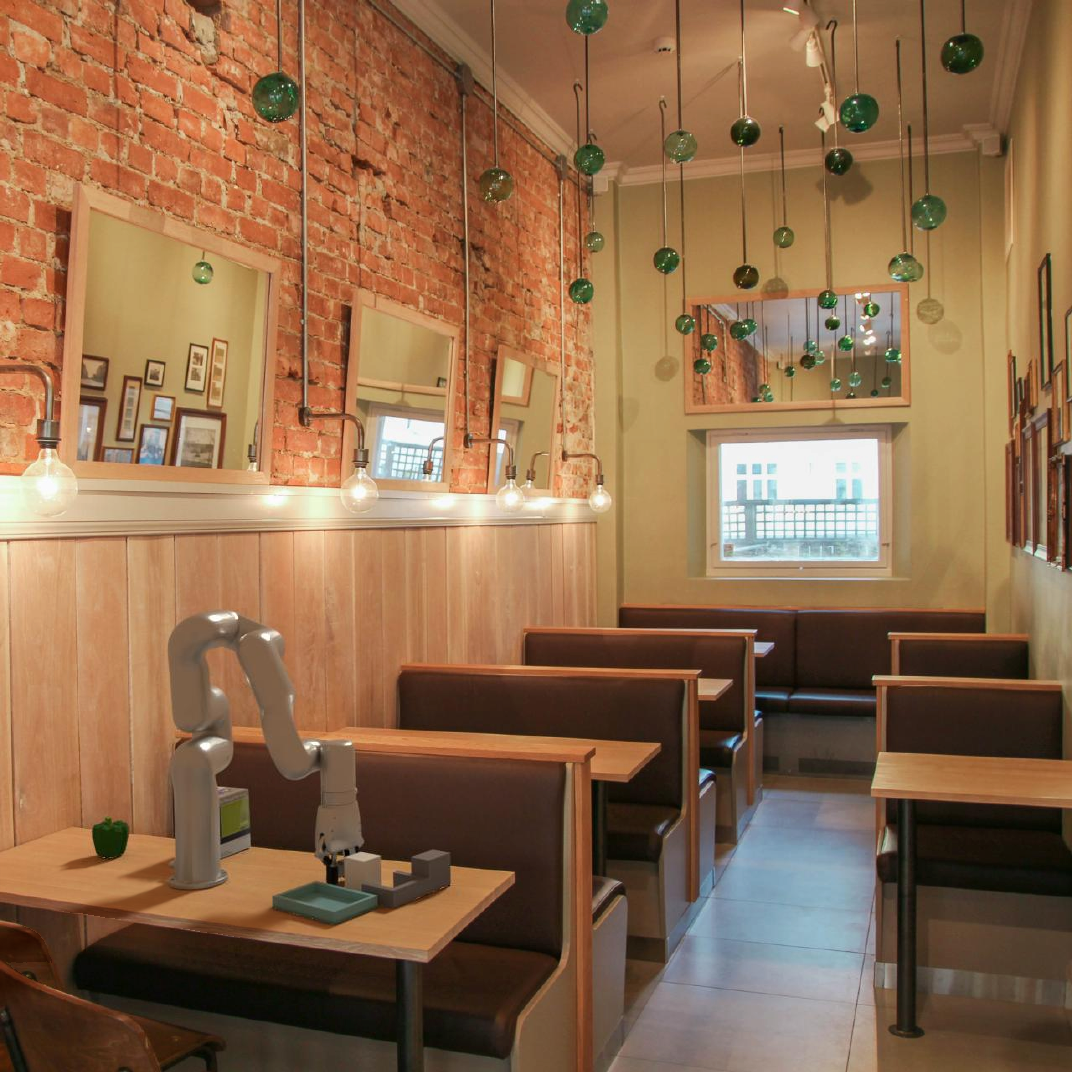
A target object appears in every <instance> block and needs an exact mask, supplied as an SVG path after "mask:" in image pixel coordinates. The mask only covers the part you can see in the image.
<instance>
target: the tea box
mask: <svg viewBox="0 0 1072 1072" xmlns="http://www.w3.org/2000/svg"><path fill="white" fill-rule="evenodd" d="M217 787H218V792H219V809H220V860H221V859H223V858H226V857H229V856H232V855H234V854H236V853H240V852H241V851H244V850H246V849H249V848H251V846H252V844H251V843H252V842H251V823H250V822H251V819H250V818H251V817H250V798H249V797H250V796H249V789H248V788H238V787H227V786H218V785H217Z"/></svg>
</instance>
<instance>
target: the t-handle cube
mask: <svg viewBox="0 0 1072 1072" xmlns="http://www.w3.org/2000/svg"><path fill="white" fill-rule="evenodd" d="M336 866H338V879H341V878H343V877H344V876H345V878H344V888H348V889H352V890H356V891H361V892H362V888H361V884H362V883H365V882H369V883H374V884H378V885H382V855H378V854H374V853H368V852H363V851H358V852H357V853H356V854H353V855H350V856H347V857H344V856H343V858H342V859H339V860H336Z"/></svg>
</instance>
